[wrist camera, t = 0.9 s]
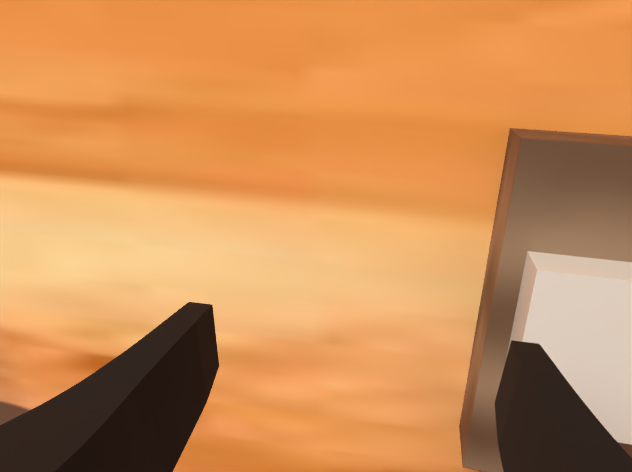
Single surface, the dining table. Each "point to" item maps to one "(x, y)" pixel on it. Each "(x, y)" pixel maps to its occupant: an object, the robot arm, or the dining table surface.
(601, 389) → the coaster
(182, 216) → the dining table surface
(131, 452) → the robot arm
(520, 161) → the walnut board
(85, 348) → the dining table surface
